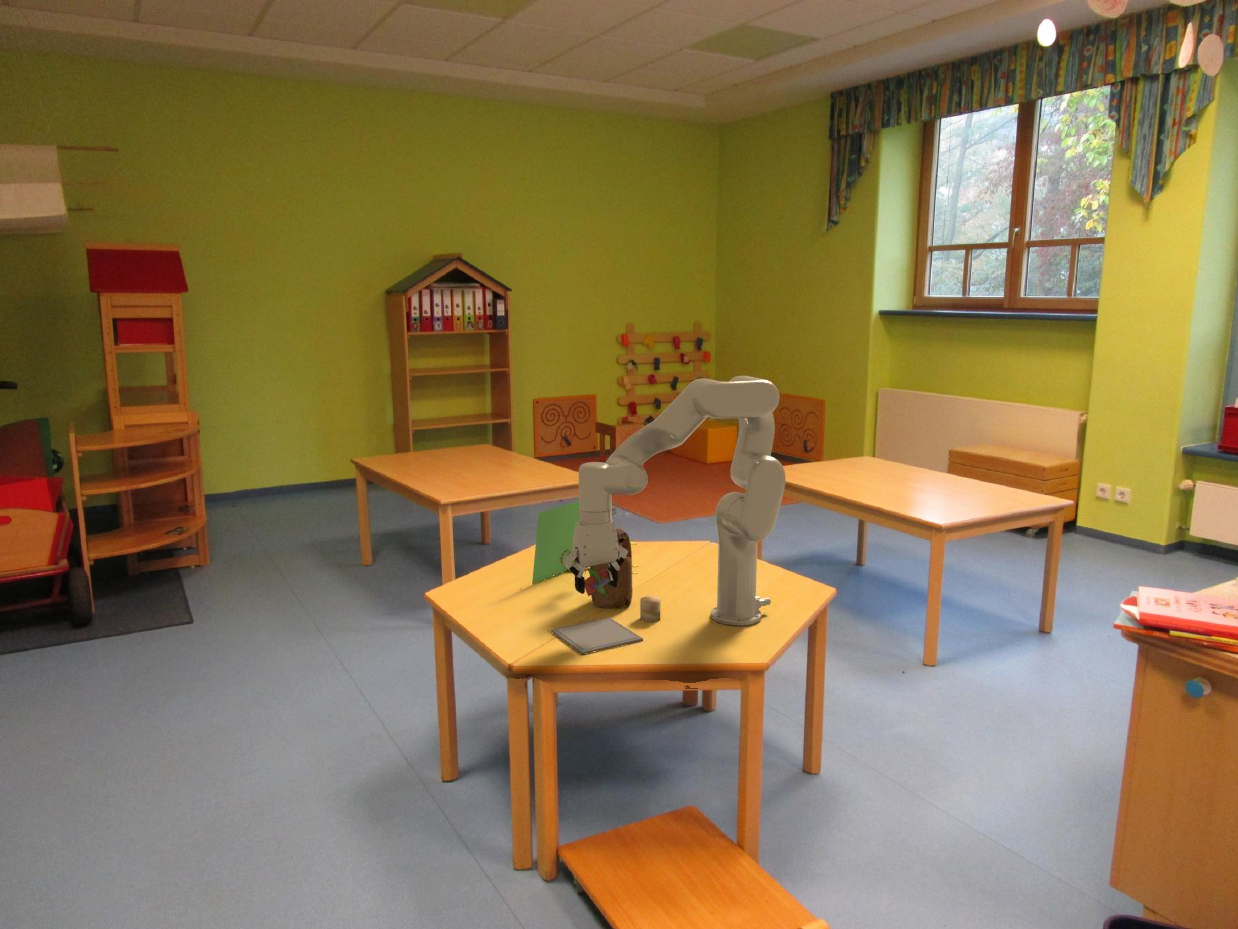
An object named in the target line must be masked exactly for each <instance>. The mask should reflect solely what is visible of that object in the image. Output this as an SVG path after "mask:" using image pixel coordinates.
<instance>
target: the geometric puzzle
mask: <svg viewBox="0 0 1238 929" xmlns="http://www.w3.org/2000/svg"><path fill="white" fill-rule="evenodd" d="M606 569H607V568H606V567H605V566H604V567H603V568H601V569H600V570H598V571H597V572H596V571H594V570H592V569H590V567H589V568H588V567H587V568H586V570H587V571H588V573H589V577H587V578H586V579H585V592H586V594H587V597H591V595H592V594H593V593H595V592H596V591H598V592H600V593H602V594H604V595H606V594H605V591H604V589H603V586H605V585H606V584H607V583H610V581H613V576H611V575H612V574H611V572H610V571H609V570H608V569H607V570H608V571H609V574H607V573H608V572H606V571H607V570H606ZM584 573H585V574H584ZM584 573H583V575H584V576H586V571H585V572H584ZM608 575H610V576H609V577H610V579H609V577H608ZM608 587H609V586H608ZM607 592H608V591H607ZM604 595H603V596H604Z"/></svg>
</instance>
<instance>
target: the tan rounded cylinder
mask: <svg viewBox="0 0 1238 929" xmlns="http://www.w3.org/2000/svg"><path fill="white" fill-rule="evenodd" d="M639 601H640V603H639V606H640V609H639V610H640V611H639V612H640V614H639V615H640V618H639V620H640V621H642V622H644V623H650V624H651V623H657V622H659V621H660V620H661V602H662V601H661V598H660V597H658V596H653V595H652V596H651V595H649V596H648V595H647V596H643V597H640V600H639Z"/></svg>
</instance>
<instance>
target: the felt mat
mask: <svg viewBox="0 0 1238 929" xmlns="http://www.w3.org/2000/svg"><path fill="white" fill-rule="evenodd" d="M552 632H553V633H554V634H553V633H552ZM550 633H552V634H553V635H554V636H556V635H557V636H558V637H557V636H556V637H557V638H559V637H560V638H561V639H562V641H563V640H564V641H563V642H564V643H565V642H566V643H565V644H567V643H568V644H569V645H568V644H567V645H568V646H570V645H571V646H572V647H573V648H572V647H571V646H570V647H571V648H572V649H573V650H575V649H576V650H577V651H576V650H575V651H576V652H578V651H579V652H580V653H581V654H580V653H579V652H578V653H579V654H580V655H582V654H584V655H587V654H586V653H588V654H592V653H591V652H593V651H597V652H601V651H605V649H606V650H609V648H610V649H613V648H618V647H622V646H621V645H623V646H626V645H625V644H627V645H631V644H635V642H636V643H639V642H643V641H644V638H643V637H642V636H640V635H638V634H637V633H635V632H634V631H632V630H631V629H629V628H627V627H626V626H624V625H623V624H621V623H620V622H618V621H616V620H615V619H613V618H612V617H610V616H608V617H604V618H603V617H602V618H598V619H594V620H589V621H585V622H579V623H575V624H570V625H566V626H560V627H555V628H552V629H550ZM560 638H559V639H560ZM561 639H560V640H561ZM617 646H618V647H617ZM600 650H601V651H600ZM593 653H594V652H593Z"/></svg>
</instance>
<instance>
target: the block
mask: <svg viewBox="0 0 1238 929" xmlns="http://www.w3.org/2000/svg"><path fill="white" fill-rule="evenodd" d="M616 532H617V540H618V545H620V546H621V547H623V548H625V549H626V550H628V554H627V556H626V557H625V559H624V562H623V563H622V565H621V566H620V569H619V570H618V582H617V587H613V586H611V585H609V584H608V583H607V584H606V585H605V586H603V589H604V591H605V594H606V595H604V594H602V593H600V592H598V591H596V592H595V593H593V594H592V595H590V597H591V601H592V602H593V604H594V606H595V607H599V608H602V609H614V608H616V609H617V608H618V609H619V608H625V607H628V606H630V605H631V604H632V599H633V574H632V572H633V567H632V564H633V553H632V545H631V543H630V542H631V541H630V540H631V539H630V536H629V534H628V533H627V532H626V531H625V530H623V529H622V528H616ZM619 554H620V552H619V551H618V556H619ZM604 566H605V567H606V568H607V569H608V568H610V566H609V564H608V563H606V564H601V565H595V566H590V567H589V569H592V570H594V571H596V572H597V571H598V570H600V569H601V568H603V567H604ZM607 569H606V570H607ZM606 572H608V570H607V571H606ZM607 574H608V573H607ZM608 586H609V587H608ZM607 591H608V592H607ZM603 595H604V596H603Z"/></svg>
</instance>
